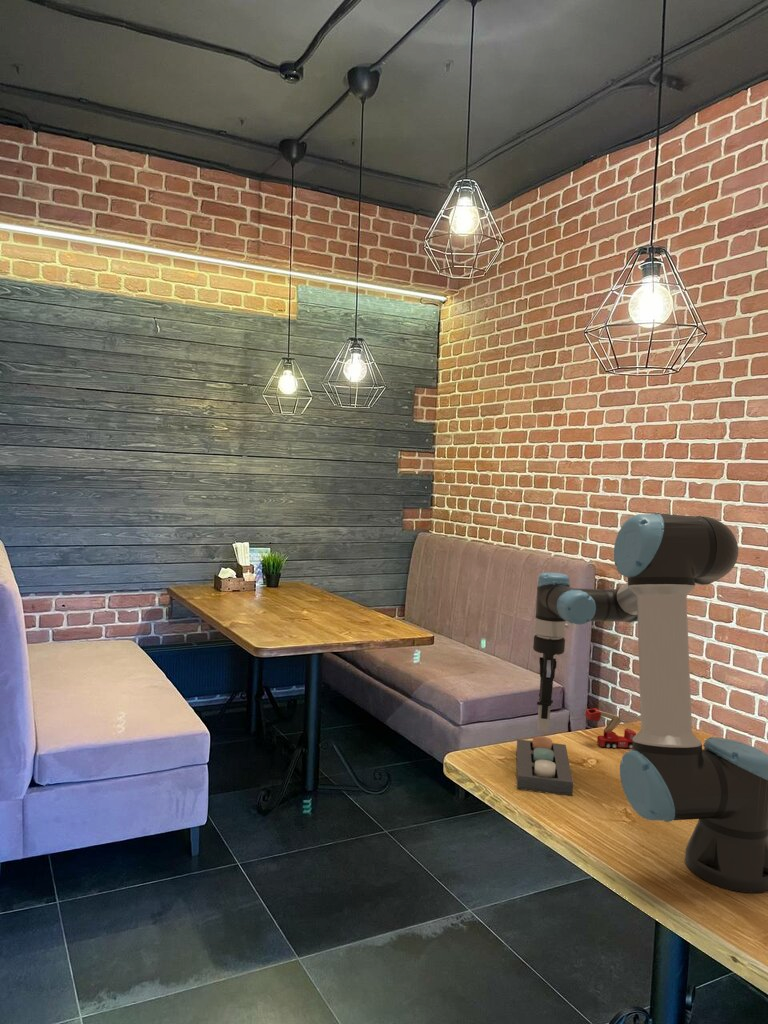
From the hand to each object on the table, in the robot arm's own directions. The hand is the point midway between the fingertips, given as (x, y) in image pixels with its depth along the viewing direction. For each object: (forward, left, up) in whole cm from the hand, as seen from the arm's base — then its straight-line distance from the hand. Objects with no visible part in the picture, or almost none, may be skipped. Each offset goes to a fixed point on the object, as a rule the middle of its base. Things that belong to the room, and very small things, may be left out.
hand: (542, 729), depth 187 cm
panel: (-8, 0, -7) cm, 11 cm away
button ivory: (-16, 0, -5) cm, 17 cm away
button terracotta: (0, 0, -5) cm, 5 cm away
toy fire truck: (+15, -19, -8) cm, 25 cm away
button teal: (-8, 0, -5) cm, 10 cm away
